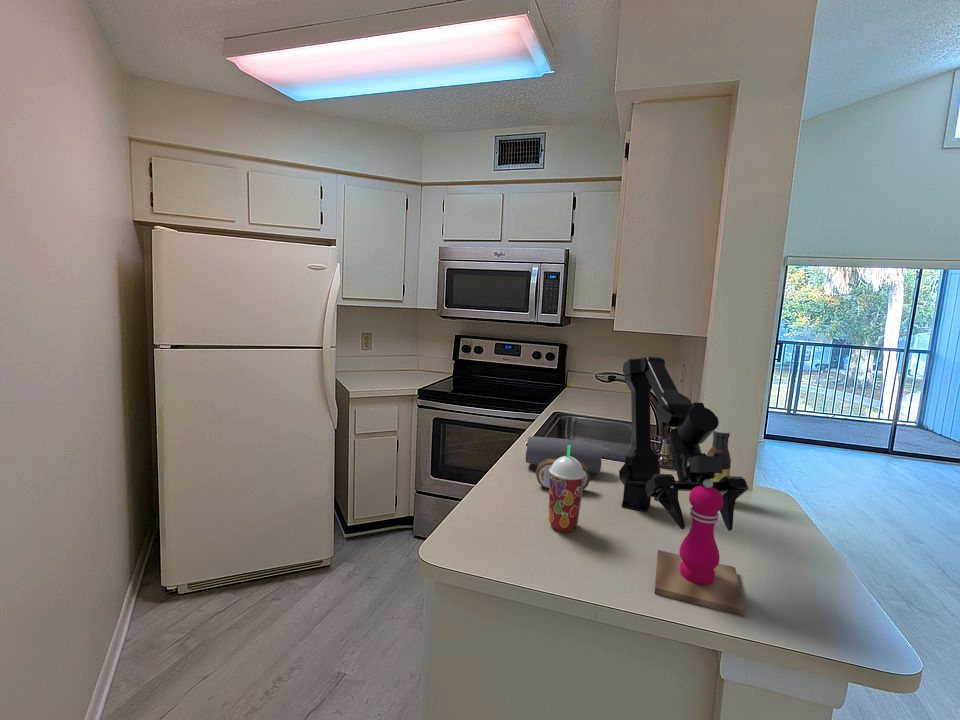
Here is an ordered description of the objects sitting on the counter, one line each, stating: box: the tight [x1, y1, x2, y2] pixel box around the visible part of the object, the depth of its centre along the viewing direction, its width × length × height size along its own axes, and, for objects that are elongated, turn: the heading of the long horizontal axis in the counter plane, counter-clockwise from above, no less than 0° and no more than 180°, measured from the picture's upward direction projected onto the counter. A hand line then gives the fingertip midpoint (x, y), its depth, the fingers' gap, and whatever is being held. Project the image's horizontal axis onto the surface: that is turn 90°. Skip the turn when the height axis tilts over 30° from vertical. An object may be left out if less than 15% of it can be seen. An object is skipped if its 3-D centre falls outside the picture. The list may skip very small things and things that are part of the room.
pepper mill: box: [678, 479, 723, 585], centre depth 96 cm, size 7×7×20 cm
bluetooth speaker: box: [525, 436, 603, 473], centre depth 154 cm, size 23×9×10 cm, turn 77°
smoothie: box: [548, 445, 585, 533], centre depth 117 cm, size 8×8×20 cm
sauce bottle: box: [706, 428, 732, 482], centre depth 137 cm, size 6×6×20 cm
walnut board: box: [654, 549, 745, 617], centre depth 98 cm, size 15×15×1 cm
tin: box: [535, 459, 591, 490], centre depth 140 cm, size 15×3×8 cm, turn 84°
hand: (706, 529), depth 95 cm, fingers open, 9 cm apart
